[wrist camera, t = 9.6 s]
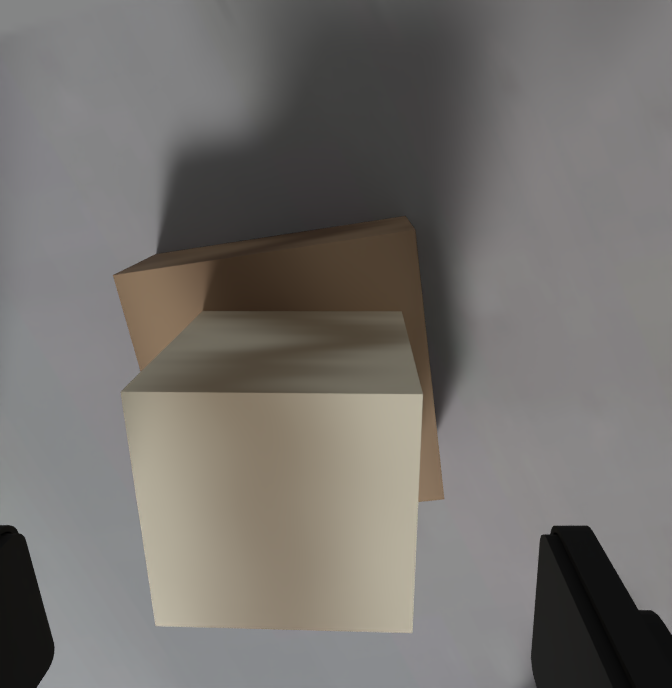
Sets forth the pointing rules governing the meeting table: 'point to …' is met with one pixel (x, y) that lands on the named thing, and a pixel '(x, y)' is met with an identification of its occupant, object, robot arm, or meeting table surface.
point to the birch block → (280, 471)
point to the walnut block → (290, 294)
